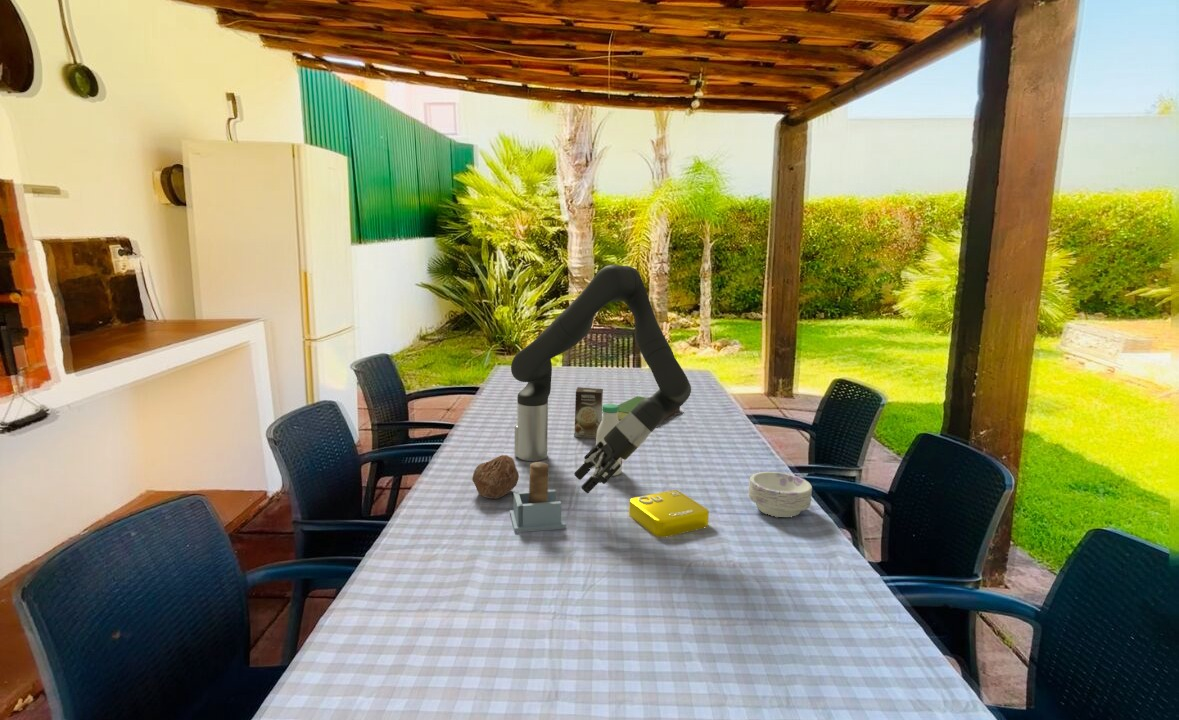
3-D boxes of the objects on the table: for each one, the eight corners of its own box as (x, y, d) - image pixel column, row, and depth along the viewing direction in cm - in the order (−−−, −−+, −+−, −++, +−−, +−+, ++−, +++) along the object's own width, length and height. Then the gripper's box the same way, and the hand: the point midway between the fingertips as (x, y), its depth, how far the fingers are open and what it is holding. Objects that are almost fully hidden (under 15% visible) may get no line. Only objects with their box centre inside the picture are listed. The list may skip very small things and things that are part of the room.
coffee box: (573, 437, 218) (574, 391, 215) (575, 431, 224) (576, 386, 221) (600, 438, 217) (601, 392, 214) (602, 433, 223) (603, 388, 220)
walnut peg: (524, 518, 153) (526, 466, 150) (534, 511, 157) (536, 460, 154) (540, 522, 151) (542, 470, 149) (550, 515, 155) (552, 464, 152)
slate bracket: (514, 532, 148) (514, 508, 147) (509, 514, 157) (509, 491, 156) (565, 528, 151) (566, 504, 150) (558, 510, 160) (558, 487, 159)
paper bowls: (809, 503, 168) (812, 475, 167) (809, 528, 154) (812, 497, 152) (750, 495, 173) (752, 467, 171) (744, 517, 159) (746, 487, 157)
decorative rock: (503, 481, 178) (503, 446, 176) (529, 493, 171) (529, 457, 169) (463, 493, 169) (463, 457, 167) (488, 507, 161) (488, 469, 160)
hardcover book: (654, 427, 233) (654, 417, 233) (608, 419, 242) (608, 409, 242) (680, 411, 255) (680, 402, 254) (637, 404, 264) (637, 395, 263)
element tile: (658, 540, 147) (659, 520, 146) (625, 514, 160) (626, 496, 159) (711, 528, 154) (712, 509, 153) (676, 504, 167) (677, 487, 166)
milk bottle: (619, 478, 183) (621, 410, 179) (592, 475, 184) (594, 408, 180) (623, 468, 190) (625, 403, 186) (597, 466, 191) (599, 401, 188)
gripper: (609, 417, 161) (564, 463, 160) (625, 434, 147) (575, 485, 147) (629, 436, 163) (584, 482, 162) (646, 455, 149) (597, 505, 149)
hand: (580, 483), depth 155 cm, fingers open, 8 cm apart
